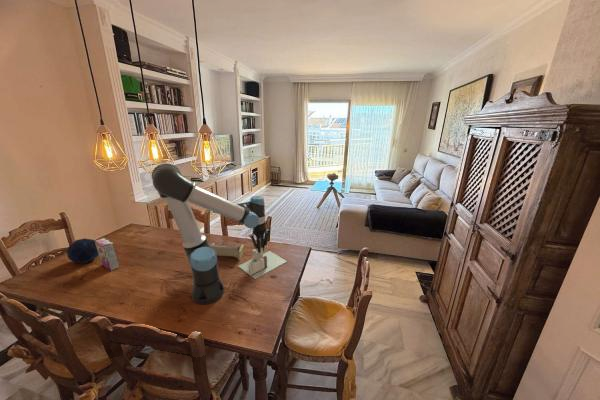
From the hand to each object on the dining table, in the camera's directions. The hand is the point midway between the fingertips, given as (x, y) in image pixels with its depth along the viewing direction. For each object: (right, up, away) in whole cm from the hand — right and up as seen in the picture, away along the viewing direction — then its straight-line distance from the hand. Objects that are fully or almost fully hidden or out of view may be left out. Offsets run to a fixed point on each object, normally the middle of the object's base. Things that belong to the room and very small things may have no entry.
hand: (261, 256), depth 146 cm
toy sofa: (-23, -1, +5) cm, 24 cm away
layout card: (+1, -4, -3) cm, 5 cm away
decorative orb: (-106, -2, -2) cm, 106 cm away
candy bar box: (-88, -4, -7) cm, 88 cm away
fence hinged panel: (-1, -3, -2) cm, 4 cm away
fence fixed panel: (0, -6, -10) cm, 11 cm away
